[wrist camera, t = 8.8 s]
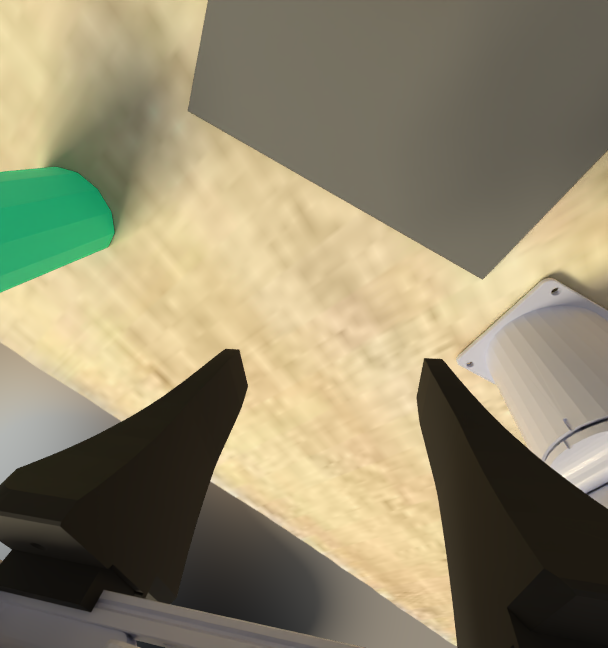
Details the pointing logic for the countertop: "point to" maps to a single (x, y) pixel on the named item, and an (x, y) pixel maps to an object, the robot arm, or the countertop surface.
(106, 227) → the candle
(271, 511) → the countertop surface
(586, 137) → the mat
